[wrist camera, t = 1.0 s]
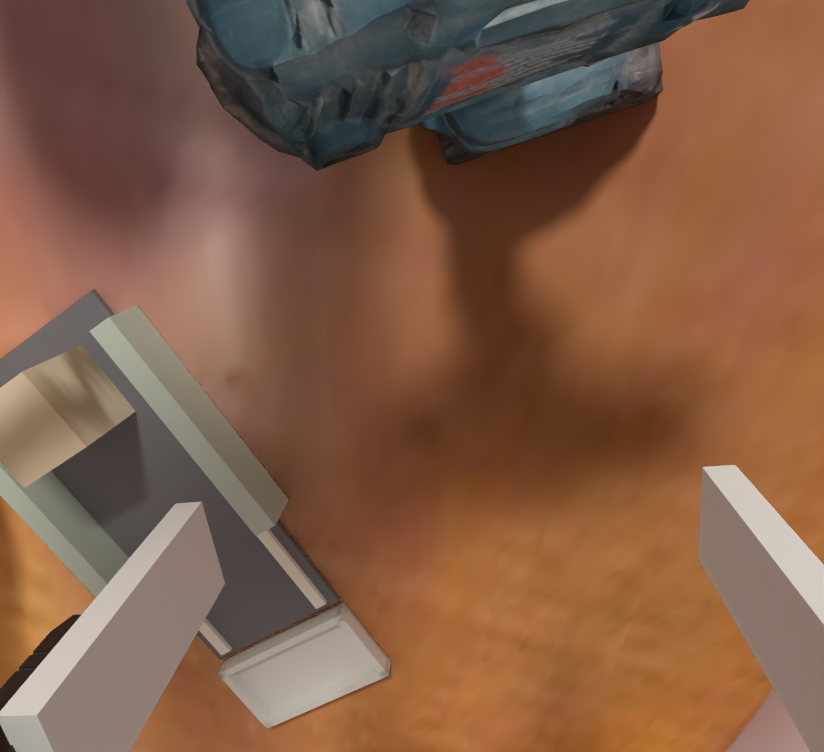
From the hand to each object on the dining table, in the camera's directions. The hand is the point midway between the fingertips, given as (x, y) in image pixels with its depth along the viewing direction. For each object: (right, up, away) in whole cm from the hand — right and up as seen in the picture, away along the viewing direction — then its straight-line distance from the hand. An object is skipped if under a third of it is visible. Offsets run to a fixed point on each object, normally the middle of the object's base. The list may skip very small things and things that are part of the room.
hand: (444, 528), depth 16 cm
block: (-25, +2, +28) cm, 38 cm away
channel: (-22, -2, +30) cm, 37 cm away
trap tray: (-10, -21, +35) cm, 42 cm away
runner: (-20, -5, +31) cm, 37 cm away
